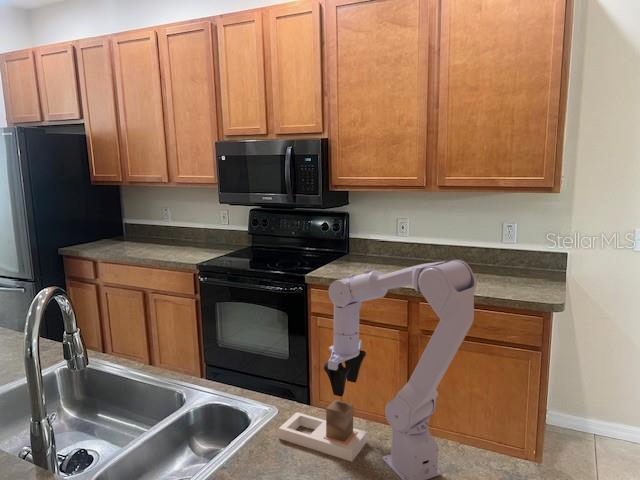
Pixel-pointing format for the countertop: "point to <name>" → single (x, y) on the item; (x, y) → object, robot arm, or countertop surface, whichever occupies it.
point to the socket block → (321, 437)
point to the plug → (339, 420)
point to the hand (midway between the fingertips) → (345, 388)
